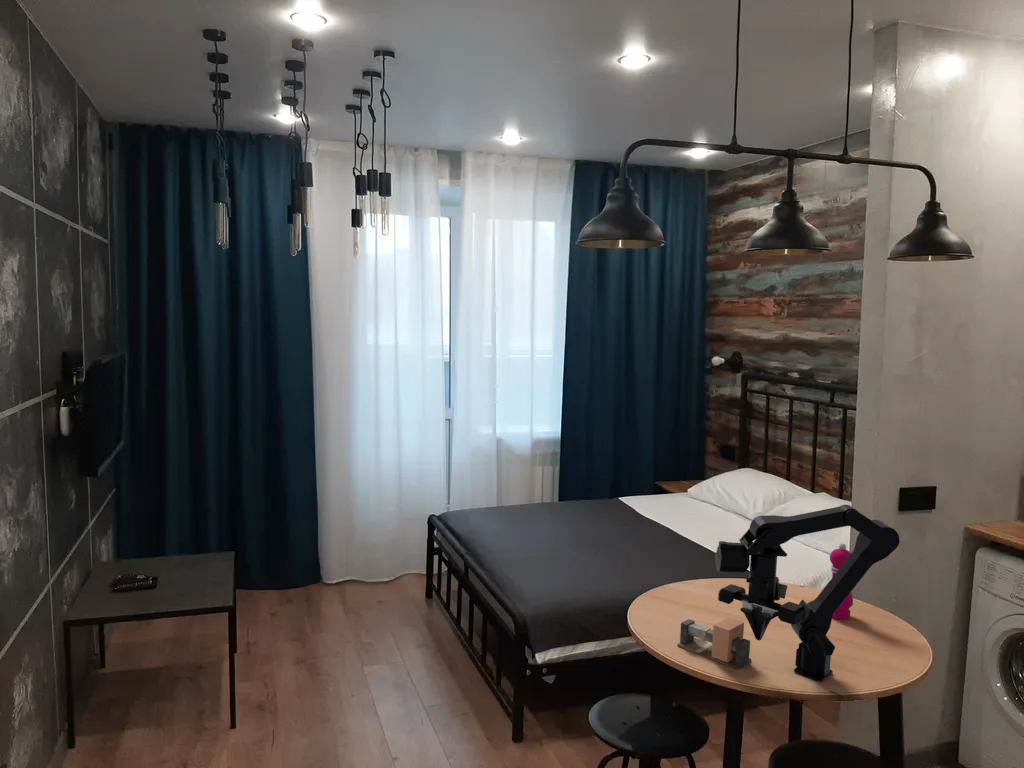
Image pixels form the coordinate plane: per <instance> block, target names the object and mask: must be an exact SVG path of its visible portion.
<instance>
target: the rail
mask: <svg viewBox="0 0 1024 768" xmlns="http://www.w3.org/2000/svg"><path fill="white" fill-rule="evenodd" d="M695 622H696V621H695V620H693V619H692V618H691V619H690V618H688V619H686V620H684V621H682V622H680V633H679V635H680V637H679V643H677V647H679V648H681V649H684V650H686V651H689V652H692V653H694V654H696V655H700V656H702V657H704V658H708V659H710V660H712V661H714V662H717V663H720V664H722V665H725V666H727V667H730V668H734V669H735V670H739V669H741V668H744V667H745V666H746V665H748V664H749V663H750V662H752V658H750V654H751V653H750V651H751V650H750V649H751V640H749V639H746V638H743V639H742V640H739V639H737V638H735V639H733V640H732V646H731V650H732V651H735V652H736V656H735V658H734V659H732V660H731V661H729V662H724V661H721V660H719V659H716V658H714V657H712V642H713V629H712V628H711V627H709V626H706V625H705V626H703V625H700V624H697V623H695Z"/></svg>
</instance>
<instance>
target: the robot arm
mask: <svg viewBox="0 0 1024 768" xmlns="http://www.w3.org/2000/svg"><path fill="white" fill-rule="evenodd" d="M844 527H851V528H852V529H854V530H855V531H857V532H858V535H857V536H856V539H855V540H856V541H855V545H854V548H853V550H852V552H851V555H850V556H849V557H848V559H847V560H846V561H845V562H844V564H843V565H842V566H841V567H840V569H839V570H838V571H837V572H836V574H835V575H834V576H833V578H832V577H831V578H830V580H829V581H828V582H827V584H826V585H825V586H824V587H823V588H822V590H821V591H820V593H819V594H818V595H817V596H816V598H814V599H813V600H811V601H809V602H806V600H804V599H801V601H800V602H799V603H794V602H792V601H787V602H785V603H784V604H781V603H778V602H775V601H780V600H781V599H783V600H784V599H786V595H787V590H788V585H785V584H782V583H780V579H779V577H778V576H777V567H778V566H777V564H778V562H777V561H778V557H785V558H786V557H787V556H788V553H787V552H786V551H785V550H784V549H783V548H782V546H781V545H783V544H785V543H788V542H789V541H790V540H792V539H793V538H796V537H798V536H803V535H808V534H813V533H818V532H823V531H829V530H833V529H839V528H844ZM900 543H901V541H900V534H899V533H898V532H897V530H895V529H894V528H893V527H892V526H890V525H888V524H887V523H885V522H884V521H882V520H880V519H870V518H869V517H867V516H865V515H864V514H862V513H861V512H859V511H858V510H857V509H856V508H854V507H853V506H852V505H850V504H842V505H840V506H836V507H830V508H825V509H821V510H816V511H809V512H806V513H801V514H796V515H795V514H794V515H790V516H787V515H786V516H784V515H775V514H773V515H758V516H755V517H754V518H752V521H751V522H750V524H749V527H748V529H747V531H745V533H744V534H743V535H742V536H741V537H740V538H739V542H734V541H733V542H731V541H724V540H719V541H718V546H717V548H716V552H715V554H714V556H715V558H714V559H715V560H714V561H715V569H716V571H717V573H729V574H730V573H735V574H736V573H737V574H743V573H745V572H748V570H749V575H748V576H747V577H745V579H746V581H745V582H746V583H748V593H747V592H746V591H747V590H746V589H745V587H742V586H739V585H736V584H732V583H730V584H729V585H726V586H724V587H722V588H721V589H719V590H718V593H717V596H718V597H717V600H718V602H721V603H724V604H727V605H730V604H732V603H733V602H734V601H735V600H736V601H739V602H741V603H742V606H741V608H740V609H739V611H740V612H741V613H743V614H744V616H745V618H746V620H747V622H748V623H749V626H750V628H751V630H752V633H753V634H754V635H753V636H754V638H755V640H756V641H759V642H760V641H762V639H763V637H764V635H765V633H766V630H767V629H768V626H769V624H770V623H771V622H772V620H773V619H776V617H777V618H778V619H779V621H781V622H784V623H786V624H790V625H791V626H790V627H791V628H792V630H793V632H794V633H795V635H797V637H798V638H799V640H800V641H801V642H800V643H798V648H796V651H795V663H794V666H795V668H794V669H793V672H794V673H796V674H799V675H802V676H805V677H808V678H810V679H812V680H816V681H818V682H823V681H824V680H825V679H827V678H828V677H830V676H831V675H832V674H833V673H834V672H833V670H832V669H831V660H832V656H833V654H834V652H835V649H836V646H835V645H834V643H832V641H831V640H830V638H829V637H828V636H827V634H828V632H829V630H830V629H831V625H832V621H833V618H832V617H833V614H834V613H835V611H836V610H837V609H838V608H839V606H840V605H841V604H842V602H843V601H844V600H845V599H846V597H847V596H848V595H849V594H850V592H851V593H852V591H853V590H854V589H855V588H856V586H857V585H858V584H859V583H860V581H861V580H862V579H863V577H864V576H865V575H866V574H867V572H868V571H869V570H870V568H871V567H873V565H875V564H877V563H878V562H880V561H883V560H885V559H886V558H888V557H889V556H890V555H891V554H892V553H893V552H894V551H895V550H896V549H898V547H899V546H900Z"/></svg>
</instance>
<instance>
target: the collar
mask: <svg viewBox="0 0 1024 768" xmlns="http://www.w3.org/2000/svg"><path fill="white" fill-rule="evenodd" d="M712 626H713V627H712V628H713V629H712V630H713V642H712V643H711V644H712V657H714V658H716V659H719V660H721V661H724V662H729V661H731V660H732V659H734V658H735V656H736V652H735V651H732V650H731V646H732V640H733V639H735V638H737V639H739V640H742V639H744V631H745V630H744V629H745V621H743V620H738V619H736V618H732V617H729V616H728V617H726V618H724V619H722V620H721V621H719V622H717V623H715V624H713V625H712Z"/></svg>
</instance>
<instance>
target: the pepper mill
mask: <svg viewBox="0 0 1024 768" xmlns="http://www.w3.org/2000/svg"><path fill="white" fill-rule="evenodd" d="M851 553H852V552H851V551H849V550H847V545H846V544H845V543H840V544H839V545H838V548H835V549H833V550H832V551H831V552H830V555H829V561H830V563H831V566H830V571H831V573H832V574H831V579H832V578H833V576H834V575H835V574H836V572H837V571H838V570H839V569H840V567H841V566H842V565H843V564H844V562H845V561H846V560H847V559H848V557H849V556H850V555H851ZM853 605H854V596H853V593H852V591H851V592H850V594H849V595H848V596H847V597H846V599H845V600H844V601H843V602H842V604H841V605H840V606H839V608H838V609H837V610H836V611H835V613H834V614H833V617H832V619H835V620H839V621H840V620H841V621H842V620H843V621H844V620H845V621H846V620H849V619H850V618H851V610H850V608H851V607H852V606H853Z"/></svg>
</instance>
